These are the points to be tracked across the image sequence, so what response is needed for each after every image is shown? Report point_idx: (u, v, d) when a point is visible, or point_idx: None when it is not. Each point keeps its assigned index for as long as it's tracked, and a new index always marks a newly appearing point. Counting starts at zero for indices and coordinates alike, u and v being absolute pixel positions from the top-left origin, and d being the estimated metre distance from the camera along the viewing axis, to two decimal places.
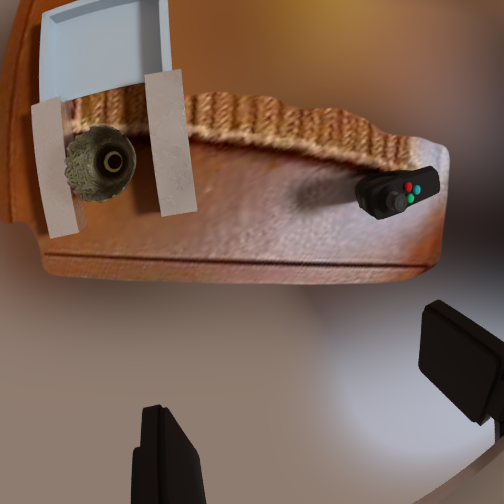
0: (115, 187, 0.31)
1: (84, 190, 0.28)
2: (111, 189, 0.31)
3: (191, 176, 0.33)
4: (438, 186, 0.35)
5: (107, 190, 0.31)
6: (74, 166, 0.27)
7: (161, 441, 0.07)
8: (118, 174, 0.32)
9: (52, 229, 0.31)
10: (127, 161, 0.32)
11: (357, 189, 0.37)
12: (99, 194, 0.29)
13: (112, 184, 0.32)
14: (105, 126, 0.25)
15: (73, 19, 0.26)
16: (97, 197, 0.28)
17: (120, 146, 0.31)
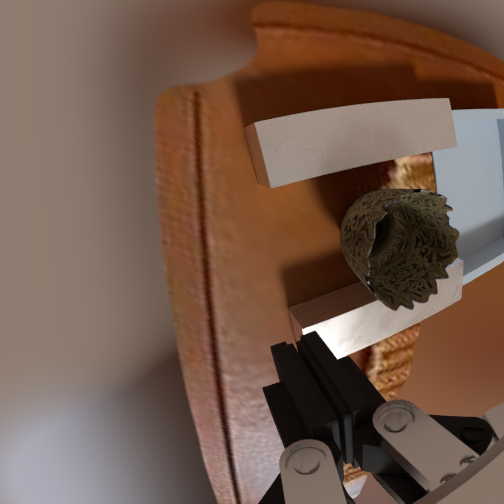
0: None
1: (368, 217, 0.17)
2: None
3: (354, 350, 0.23)
4: None
5: None
6: None
7: (302, 368, 0.09)
8: None
9: (272, 128, 0.17)
10: (369, 254, 0.22)
11: None
12: None
13: None
14: (456, 254, 0.17)
15: (498, 140, 0.24)
16: None
17: (388, 240, 0.22)
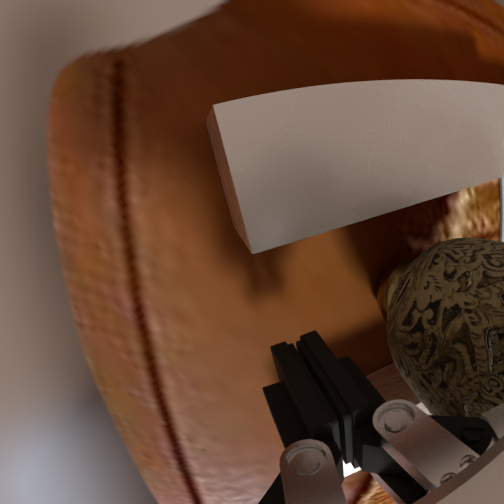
0: None
1: (465, 313, 0.07)
2: None
3: None
4: None
5: None
6: None
7: (302, 368, 0.09)
8: None
9: (256, 117, 0.07)
10: None
11: None
12: None
13: None
14: None
15: None
16: None
17: None
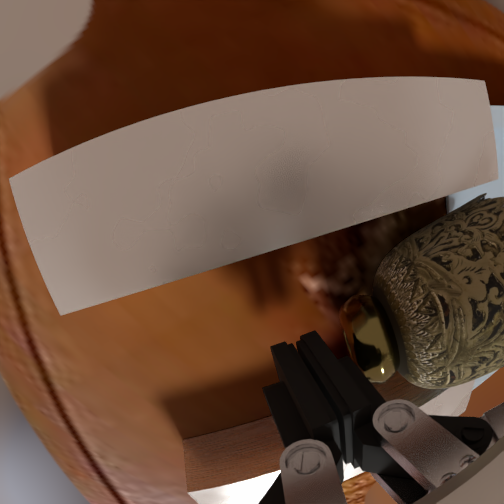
0: None
1: None
2: None
3: None
4: None
5: None
6: None
7: (302, 368, 0.09)
8: None
9: (41, 185, 0.06)
10: None
11: None
12: None
13: None
14: None
15: None
16: None
17: None
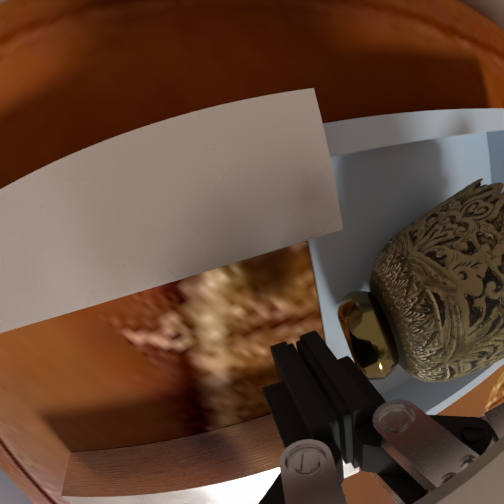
0: None
1: None
2: None
3: None
4: None
5: None
6: None
7: (302, 368, 0.09)
8: None
9: None
10: None
11: None
12: None
13: None
14: None
15: (488, 172, 0.13)
16: None
17: None
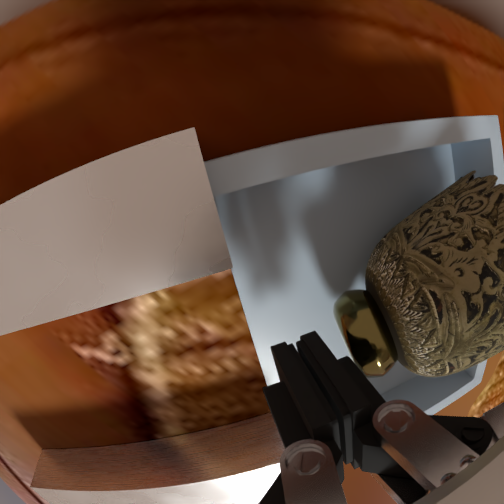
0: None
1: None
2: None
3: None
4: None
5: None
6: None
7: (302, 368, 0.09)
8: None
9: None
10: None
11: None
12: None
13: None
14: None
15: None
16: None
17: None
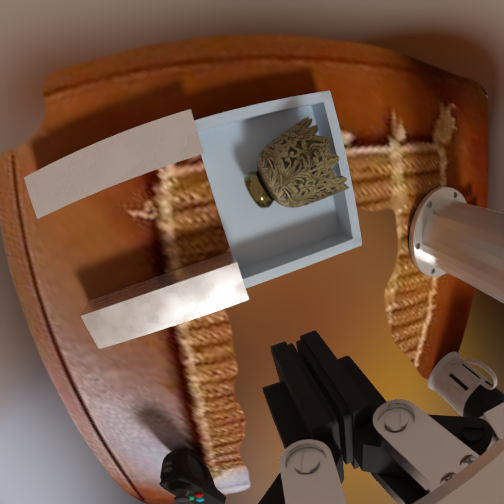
0: None
1: (301, 141, 0.24)
2: None
3: (131, 338, 0.28)
4: None
5: None
6: None
7: (302, 368, 0.09)
8: None
9: (33, 179, 0.22)
10: None
11: (177, 456, 0.34)
12: None
13: None
14: None
15: None
16: None
17: None
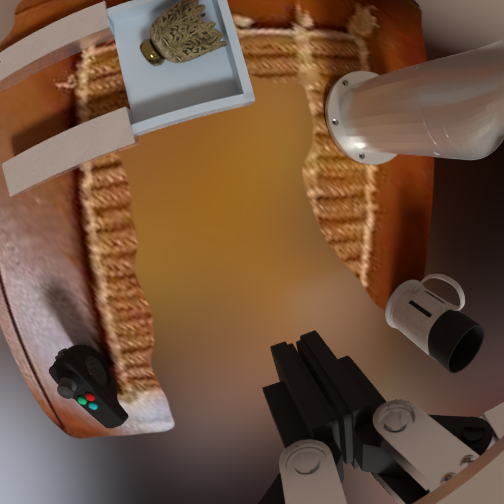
0: None
1: (179, 4, 0.22)
2: (167, 31, 0.23)
3: (34, 182, 0.27)
4: (111, 426, 0.33)
5: None
6: None
7: (302, 368, 0.09)
8: None
9: None
10: None
11: (75, 346, 0.33)
12: None
13: None
14: None
15: (214, 15, 0.28)
16: None
17: None
